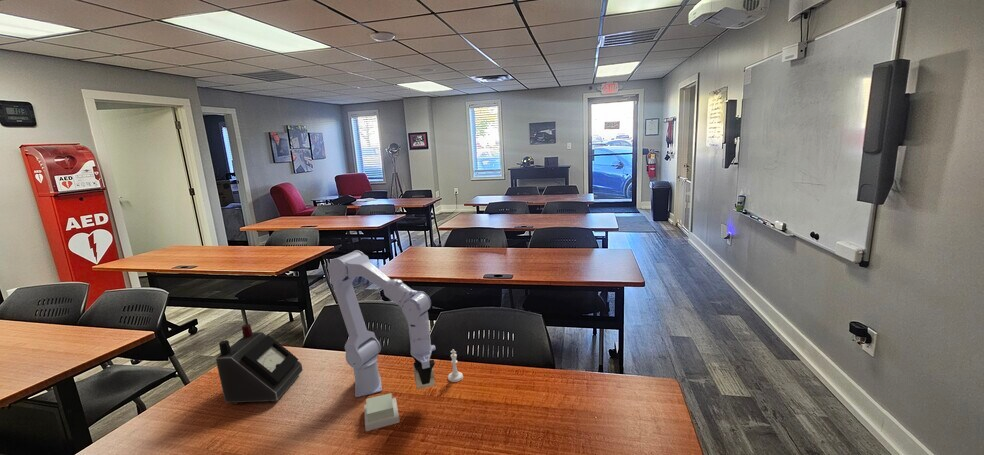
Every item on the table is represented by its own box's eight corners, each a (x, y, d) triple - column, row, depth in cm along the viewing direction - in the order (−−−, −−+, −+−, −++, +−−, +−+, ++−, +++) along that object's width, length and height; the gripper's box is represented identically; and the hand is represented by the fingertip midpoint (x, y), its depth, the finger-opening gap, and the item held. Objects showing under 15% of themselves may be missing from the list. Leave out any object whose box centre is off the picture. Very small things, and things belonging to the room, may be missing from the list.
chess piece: (460, 382, 127) (458, 354, 125) (446, 381, 128) (443, 353, 126) (464, 373, 132) (462, 346, 130) (450, 372, 133) (448, 345, 131)
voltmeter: (279, 404, 122) (267, 344, 118) (226, 406, 122) (212, 346, 118) (304, 374, 138) (294, 320, 133) (257, 375, 138) (246, 322, 134)
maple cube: (414, 380, 119) (413, 364, 118) (431, 376, 120) (430, 360, 119) (417, 389, 114) (415, 373, 113) (434, 385, 116) (433, 369, 114)
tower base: (365, 413, 117) (364, 405, 116) (396, 405, 119) (395, 397, 119) (366, 433, 108) (365, 425, 108) (400, 424, 111) (399, 416, 110)
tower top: (367, 406, 115) (366, 398, 115) (392, 400, 118) (391, 393, 117) (367, 422, 109) (366, 414, 108) (394, 415, 111) (393, 407, 110)
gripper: (438, 343, 108) (443, 388, 111) (429, 322, 122) (433, 362, 125) (412, 349, 106) (417, 394, 109) (405, 326, 120) (410, 367, 122)
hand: (424, 377), depth 117 cm, fingers closed on maple cube, 5 cm apart
